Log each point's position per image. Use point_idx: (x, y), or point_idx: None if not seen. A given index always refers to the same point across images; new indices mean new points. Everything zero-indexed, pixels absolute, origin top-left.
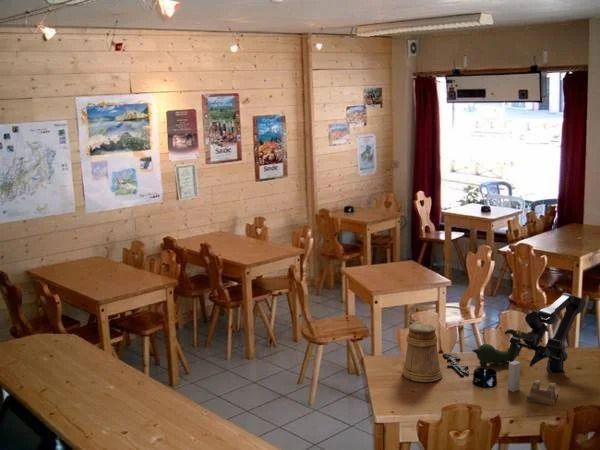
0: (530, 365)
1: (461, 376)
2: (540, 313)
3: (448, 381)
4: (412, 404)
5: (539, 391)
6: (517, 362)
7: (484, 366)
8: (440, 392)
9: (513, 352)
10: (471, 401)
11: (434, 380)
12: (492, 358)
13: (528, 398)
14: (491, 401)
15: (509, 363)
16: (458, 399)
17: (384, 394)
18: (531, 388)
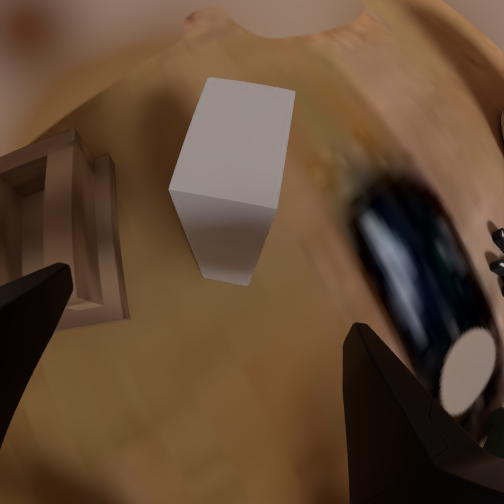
0: (58, 268)
1: (497, 231)
2: None
3: (489, 161)
4: (410, 6)
5: (30, 147)
6: (207, 157)
7: (489, 416)
8: (435, 71)
9: (420, 392)
10: (321, 45)
11: (502, 127)
12: (498, 444)
13: (104, 159)
14: (259, 70)
15: (286, 93)
16: (363, 45)
17: (477, 36)
18: (70, 139)
